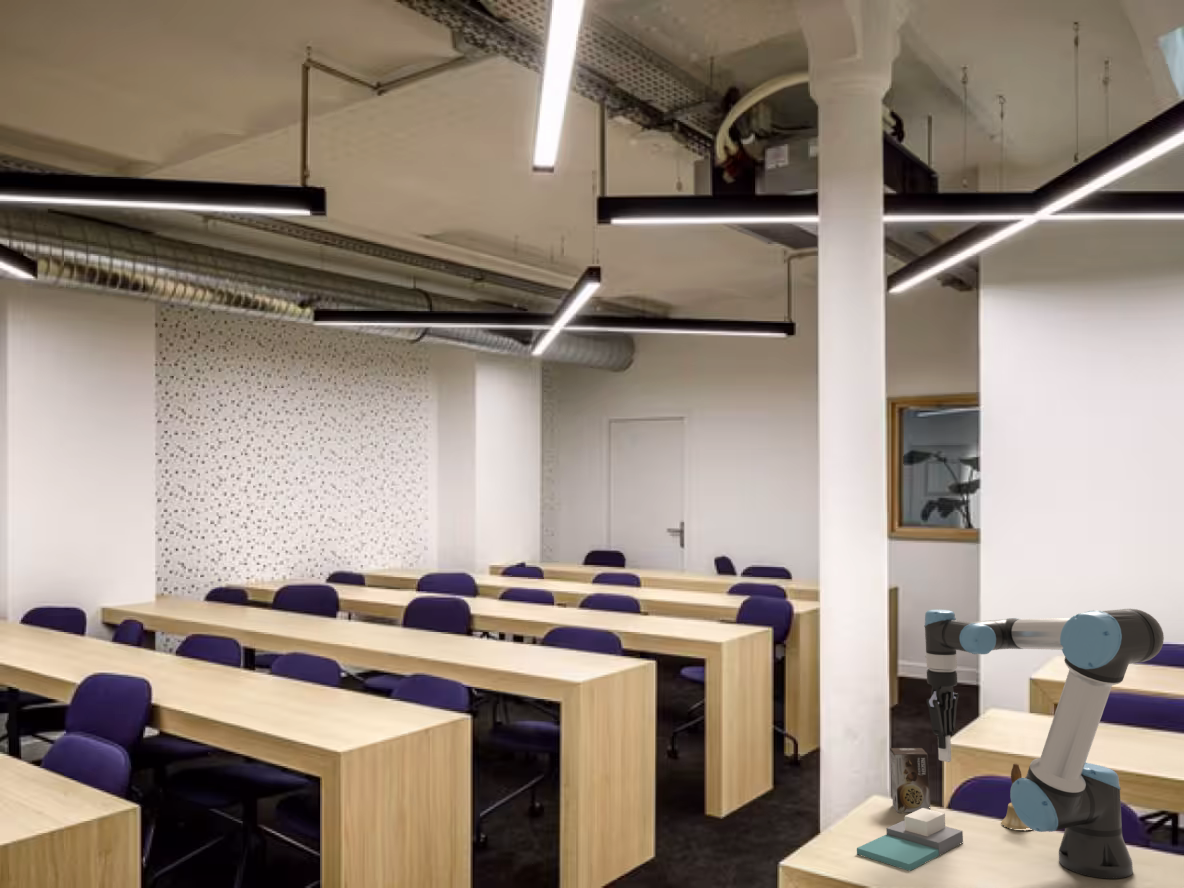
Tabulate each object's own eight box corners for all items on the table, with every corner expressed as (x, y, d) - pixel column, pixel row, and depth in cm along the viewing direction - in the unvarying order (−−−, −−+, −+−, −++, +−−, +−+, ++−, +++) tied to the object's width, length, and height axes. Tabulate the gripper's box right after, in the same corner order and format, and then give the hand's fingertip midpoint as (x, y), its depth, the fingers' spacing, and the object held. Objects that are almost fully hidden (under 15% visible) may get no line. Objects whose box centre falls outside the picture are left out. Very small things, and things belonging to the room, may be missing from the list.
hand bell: (1004, 818, 245) (1001, 758, 246) (1038, 824, 240) (1035, 763, 241) (997, 827, 238) (994, 765, 240) (1032, 834, 234) (1029, 770, 235)
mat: (938, 855, 220) (938, 849, 220) (909, 870, 211) (909, 864, 211) (886, 840, 230) (886, 834, 230) (856, 854, 222) (856, 847, 222)
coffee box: (924, 805, 256) (922, 747, 257) (931, 813, 250) (928, 753, 251) (891, 805, 257) (889, 747, 258) (897, 813, 251) (894, 753, 252)
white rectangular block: (945, 827, 230) (944, 813, 231) (927, 836, 224) (926, 821, 225) (923, 821, 235) (922, 807, 235) (905, 830, 229) (904, 816, 229)
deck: (963, 843, 228) (962, 830, 228) (939, 855, 220) (938, 842, 220) (911, 828, 238) (911, 817, 239) (886, 840, 230) (886, 828, 231)
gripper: (940, 664, 247) (943, 752, 246) (915, 670, 239) (918, 762, 237) (967, 668, 241) (970, 758, 240) (942, 674, 233) (946, 768, 231)
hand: (945, 760), depth 238 cm, fingers closed
